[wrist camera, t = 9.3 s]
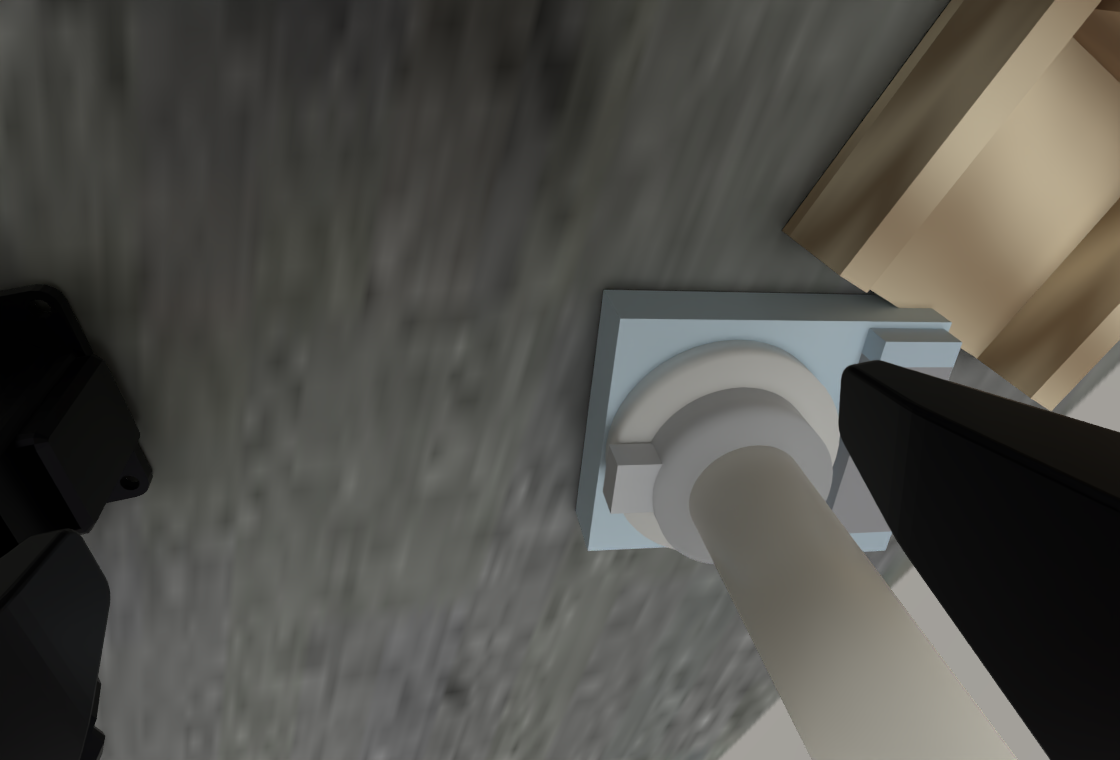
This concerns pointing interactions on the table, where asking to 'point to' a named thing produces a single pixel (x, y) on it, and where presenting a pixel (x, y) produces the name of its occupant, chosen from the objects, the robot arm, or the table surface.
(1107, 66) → the box
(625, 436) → the grey socket base
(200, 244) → the table surface
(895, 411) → the robot arm
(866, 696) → the crank handle
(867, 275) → the bay
